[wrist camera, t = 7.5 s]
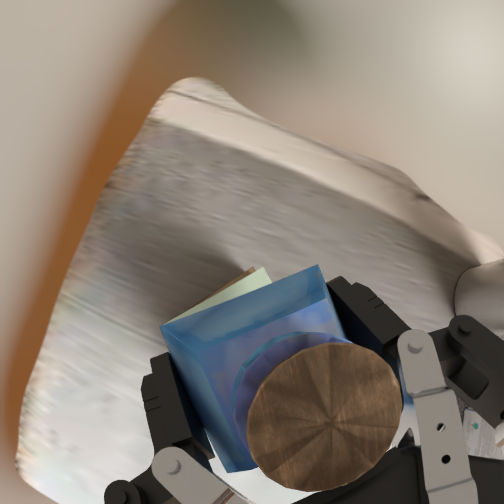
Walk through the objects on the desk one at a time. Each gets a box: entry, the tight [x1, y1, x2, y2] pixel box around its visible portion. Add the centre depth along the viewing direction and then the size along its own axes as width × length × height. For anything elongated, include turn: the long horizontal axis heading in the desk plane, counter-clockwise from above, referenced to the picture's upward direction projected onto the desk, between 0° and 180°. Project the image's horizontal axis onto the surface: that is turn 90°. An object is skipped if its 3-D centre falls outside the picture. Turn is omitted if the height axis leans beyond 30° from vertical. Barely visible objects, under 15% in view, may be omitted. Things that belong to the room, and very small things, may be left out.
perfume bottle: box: [160, 264, 402, 492], centre depth 11 cm, size 6×6×12 cm
